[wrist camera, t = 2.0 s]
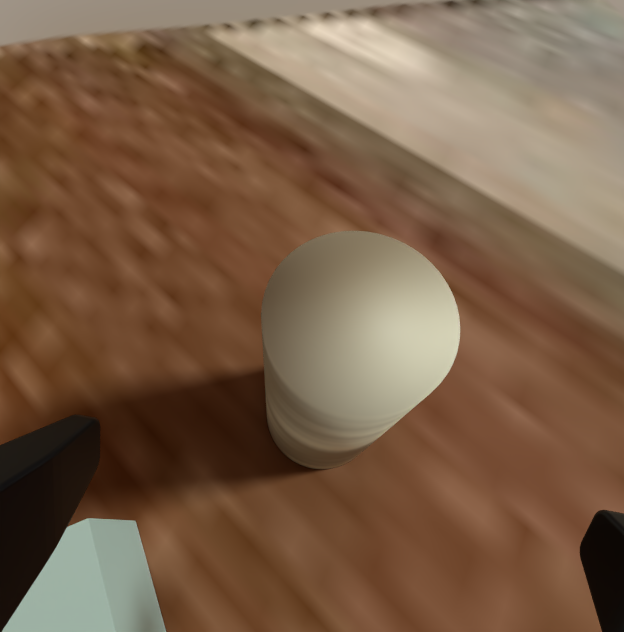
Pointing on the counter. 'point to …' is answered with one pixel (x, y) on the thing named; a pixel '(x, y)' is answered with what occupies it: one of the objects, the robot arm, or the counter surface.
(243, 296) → the counter surface
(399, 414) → the beech peg
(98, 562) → the socket block
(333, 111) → the counter surface
